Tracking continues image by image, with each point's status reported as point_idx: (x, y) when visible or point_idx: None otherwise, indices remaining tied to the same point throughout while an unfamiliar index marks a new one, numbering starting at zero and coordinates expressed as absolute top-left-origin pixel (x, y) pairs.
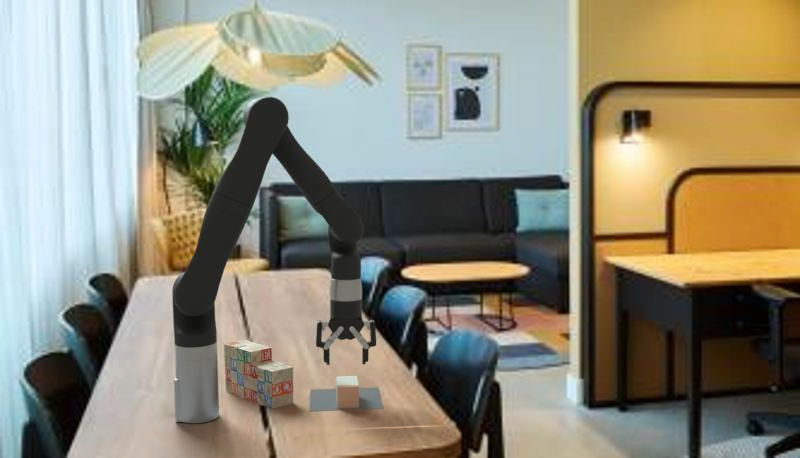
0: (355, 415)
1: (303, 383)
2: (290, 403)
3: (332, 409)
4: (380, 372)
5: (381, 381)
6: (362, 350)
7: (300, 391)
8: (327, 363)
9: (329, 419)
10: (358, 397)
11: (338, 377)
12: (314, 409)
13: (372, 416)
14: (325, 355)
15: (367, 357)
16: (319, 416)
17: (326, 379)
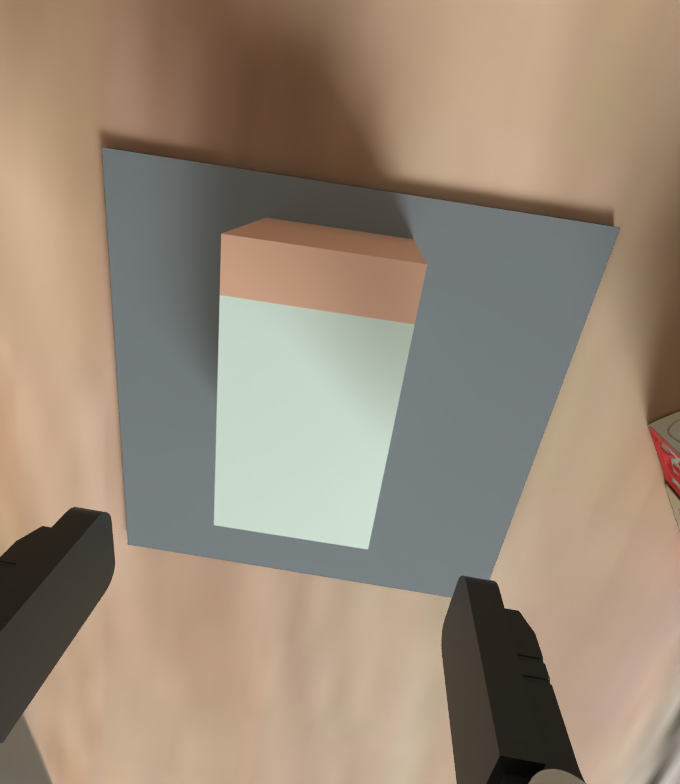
0: (312, 79)
1: None
2: (677, 418)
3: (452, 225)
4: (118, 718)
5: (115, 624)
6: (13, 675)
7: (528, 605)
8: (490, 585)
9: (522, 26)
10: (252, 223)
11: (356, 526)
12: (572, 260)
13: (191, 15)
14: (530, 689)
15: (7, 566)
16: (571, 129)
17: (362, 708)
